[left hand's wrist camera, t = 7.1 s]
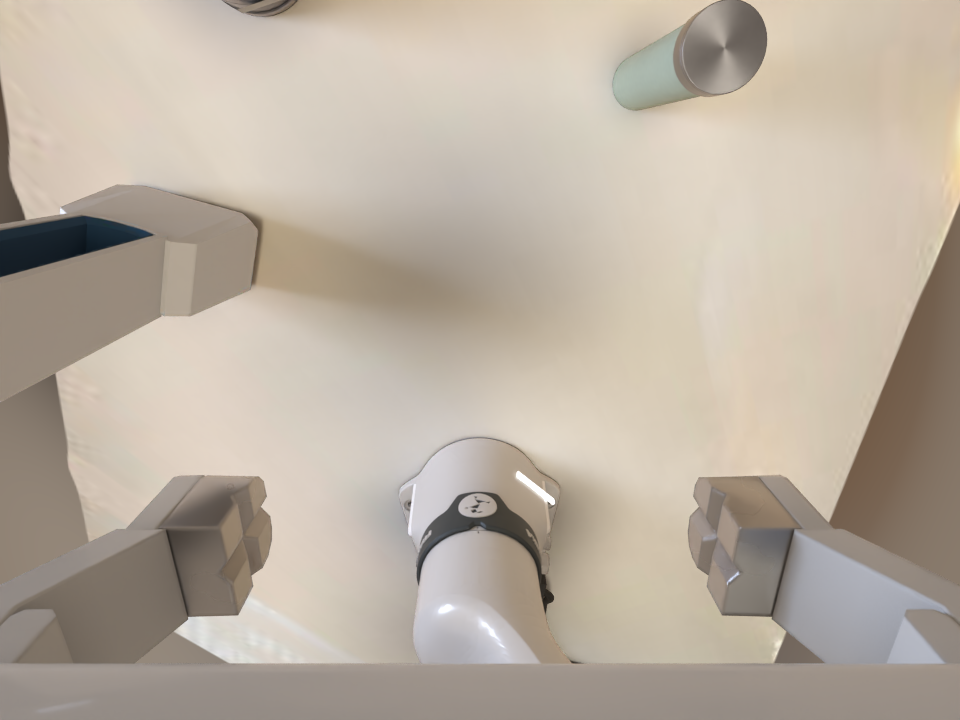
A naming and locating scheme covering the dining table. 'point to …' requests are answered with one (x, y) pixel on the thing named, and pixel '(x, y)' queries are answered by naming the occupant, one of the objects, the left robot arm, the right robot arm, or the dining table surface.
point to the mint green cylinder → (650, 77)
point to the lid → (720, 48)
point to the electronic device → (111, 274)
